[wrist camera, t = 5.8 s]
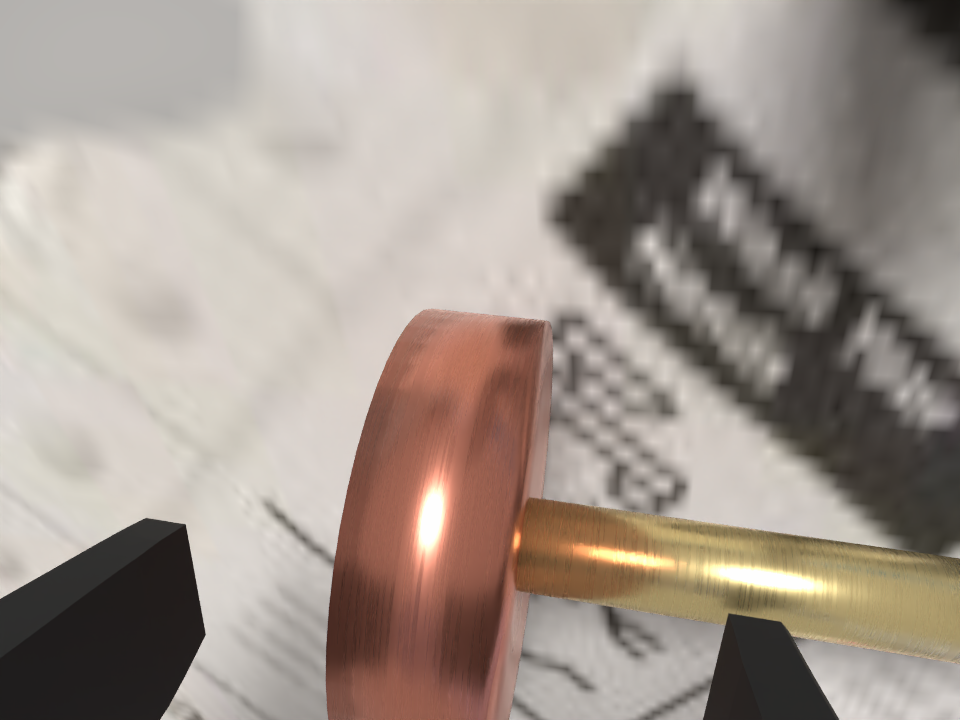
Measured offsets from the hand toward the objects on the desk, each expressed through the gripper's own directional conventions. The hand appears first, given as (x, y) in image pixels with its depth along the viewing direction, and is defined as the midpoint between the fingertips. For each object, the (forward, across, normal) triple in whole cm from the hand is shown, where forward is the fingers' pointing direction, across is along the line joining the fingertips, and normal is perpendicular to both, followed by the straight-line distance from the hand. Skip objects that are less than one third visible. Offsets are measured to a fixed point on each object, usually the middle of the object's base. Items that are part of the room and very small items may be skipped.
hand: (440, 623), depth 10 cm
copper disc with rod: (+5, -5, 0) cm, 7 cm away
